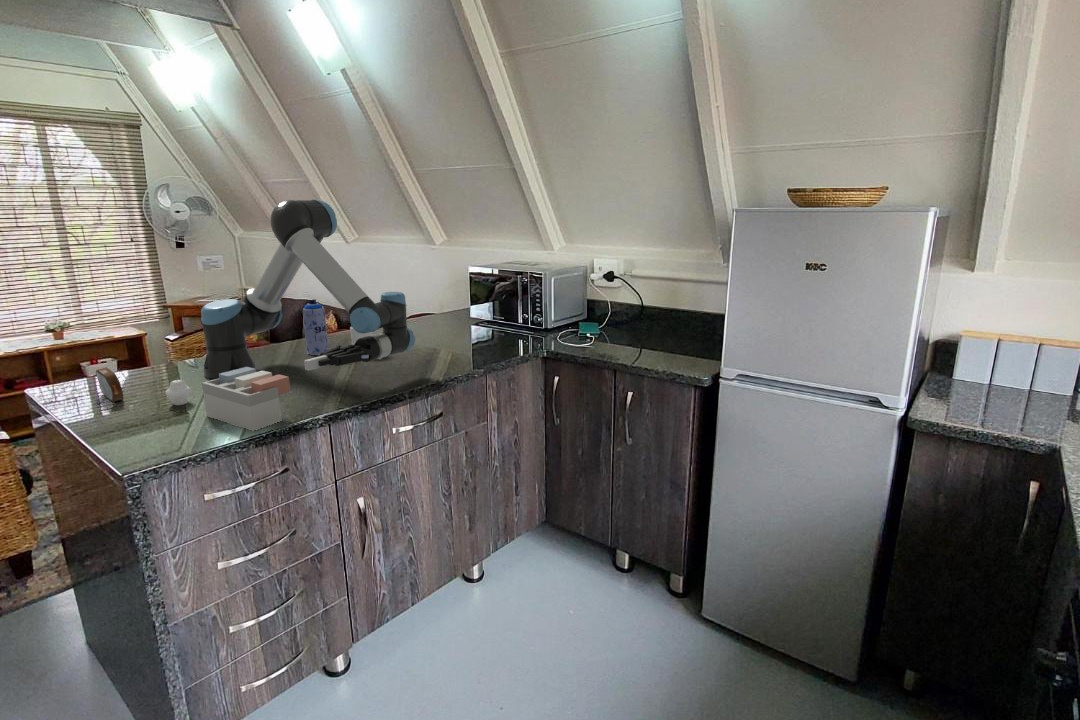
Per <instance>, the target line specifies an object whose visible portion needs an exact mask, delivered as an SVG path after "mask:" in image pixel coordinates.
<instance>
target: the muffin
mask: <svg viewBox="0 0 1080 720" xmlns="http://www.w3.org/2000/svg"><path fill="white" fill-rule="evenodd" d="M191 393H192V388H191V387H190V386H188V385H187V384H186V383H185V381H184V380H183V379H176V380H172V381H170V383H169V386H168V388H167V389H166V390H165V395H166V397H167V398H168V399H169V401H170V402H171V403H172V404H173V405H174V406H181V405H182V406H183V405H185V404H187V403H188V401H189V400H190V397H191Z"/></svg>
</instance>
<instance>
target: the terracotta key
mask: <svg viewBox="0 0 1080 720" xmlns="http://www.w3.org/2000/svg"><path fill="white" fill-rule="evenodd" d="M290 384H291V383H290V377H289V376H288V375H287V376H286V375H283V374H275V375H272V377H268V378H264V379H261V380H257V381H254V382H251V387H252V394H253V393H257V392H260V391H263V390H267V389H270V388H274V387H278V395H279V396H280V395H283V394H287V393H289V392H291V387H290Z"/></svg>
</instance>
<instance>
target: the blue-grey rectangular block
mask: <svg viewBox="0 0 1080 720" xmlns="http://www.w3.org/2000/svg"><path fill="white" fill-rule="evenodd" d="M255 372H257V368H256V369H254V368H250V367H244V368H240V369H236V370H232V371H228V372H224V373H220V374H219V379H220V384H224V383H227V382H231V381H235V379H234V378H236V377H240V376H244V375H248V374H251V373H255Z"/></svg>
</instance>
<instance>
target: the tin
mask: <svg viewBox="0 0 1080 720" xmlns="http://www.w3.org/2000/svg"><path fill="white" fill-rule="evenodd" d="M95 376H96V378H97V382H98V386H99V388H100V391H101V393H102V395H103V396H104V397H105V398H107V399H108V401H110V402H111V401H112V403H115V402H118V401H123V400H124V392H123V391H124V390H123V388H122V385H121V382H120V380H119V378H118V376H117V374H116V373H115V372H114V371H113V370H111V368H108V367H104V368H103V367H102V368H100V369H96V371H95Z"/></svg>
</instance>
